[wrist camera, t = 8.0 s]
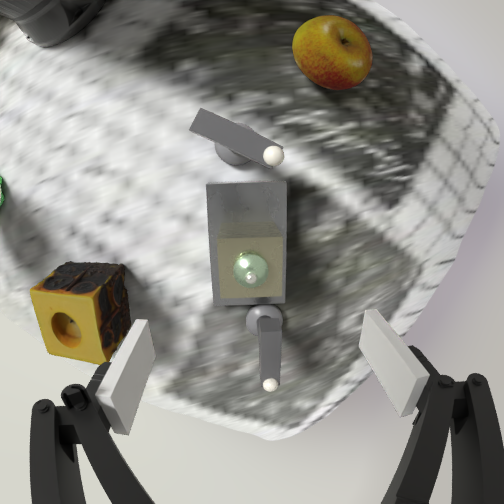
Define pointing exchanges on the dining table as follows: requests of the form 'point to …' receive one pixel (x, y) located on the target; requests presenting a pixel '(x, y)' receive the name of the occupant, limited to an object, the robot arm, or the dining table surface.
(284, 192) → the level base
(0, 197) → the cup
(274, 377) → the knob
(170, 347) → the dining table surface
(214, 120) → the knob
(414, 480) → the robot arm
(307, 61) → the fruit
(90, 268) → the candle
